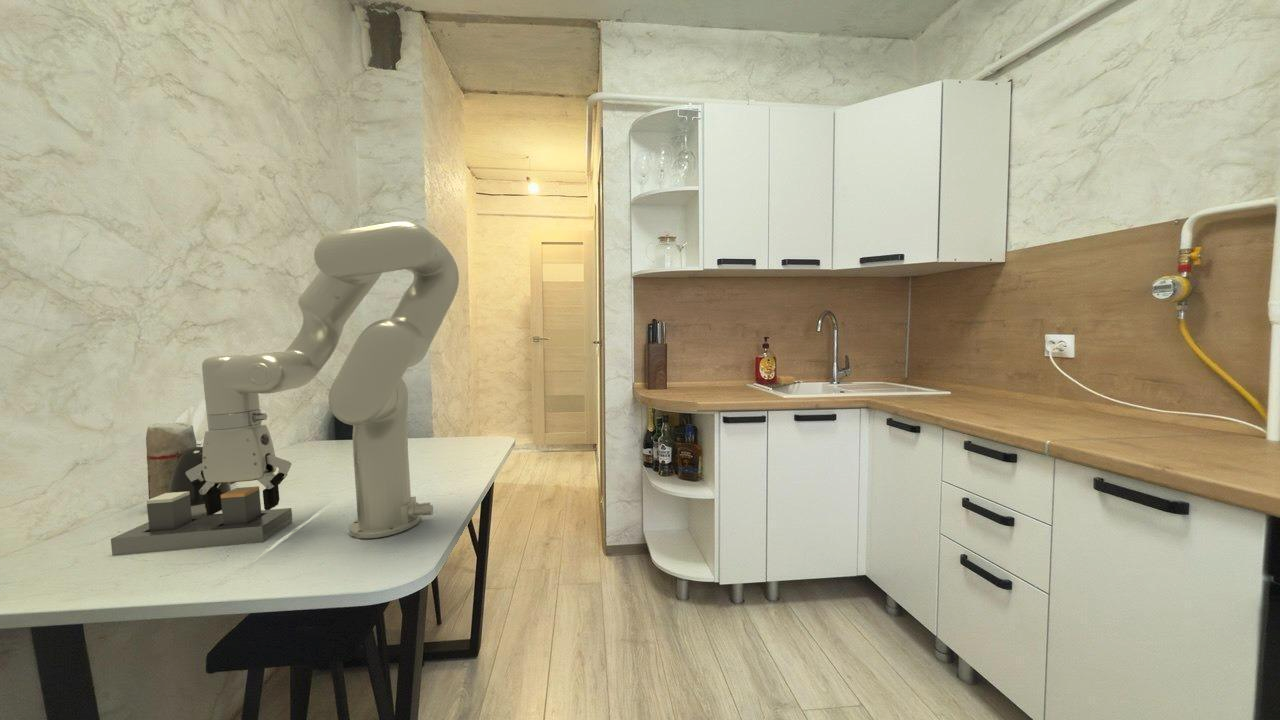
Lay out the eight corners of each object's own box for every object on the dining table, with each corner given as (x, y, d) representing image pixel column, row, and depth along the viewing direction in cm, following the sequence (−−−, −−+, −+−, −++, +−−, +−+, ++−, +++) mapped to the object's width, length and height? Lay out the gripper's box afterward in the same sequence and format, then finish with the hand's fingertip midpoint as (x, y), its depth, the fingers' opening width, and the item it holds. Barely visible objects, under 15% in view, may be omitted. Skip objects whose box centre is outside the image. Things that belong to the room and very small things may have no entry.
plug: (262, 529, 91) (259, 486, 90) (248, 538, 87) (244, 493, 86) (240, 531, 90) (236, 487, 90) (224, 540, 86) (220, 494, 86)
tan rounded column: (172, 504, 110) (164, 420, 109) (210, 501, 111) (202, 419, 110) (137, 518, 102) (128, 428, 100) (179, 515, 103) (170, 426, 101)
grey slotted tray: (292, 527, 94) (291, 507, 94) (263, 547, 85) (262, 526, 85) (157, 538, 90) (156, 518, 90) (112, 560, 82) (110, 538, 81)
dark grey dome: (194, 525, 97) (188, 453, 96) (156, 522, 99) (149, 452, 98) (245, 506, 107) (239, 441, 106) (209, 505, 109) (203, 441, 108)
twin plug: (193, 535, 89) (189, 491, 89) (175, 544, 85) (171, 498, 85) (169, 537, 88) (165, 493, 88) (151, 546, 85) (146, 500, 84)
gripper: (296, 414, 92) (304, 498, 93) (199, 420, 90) (208, 507, 91) (272, 421, 85) (281, 513, 86) (165, 428, 82) (175, 522, 83)
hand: (243, 509), depth 88 cm, fingers open, 9 cm apart
